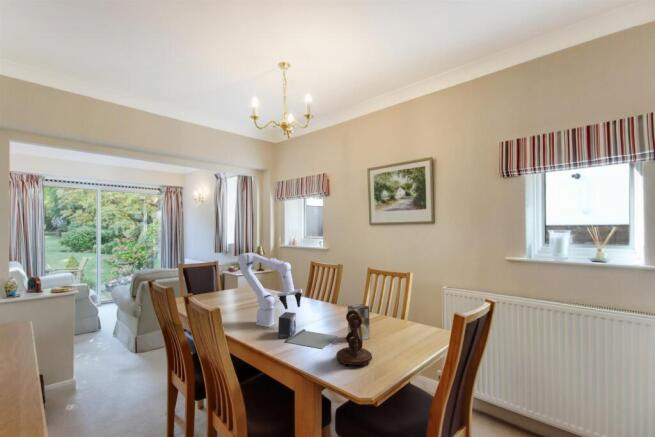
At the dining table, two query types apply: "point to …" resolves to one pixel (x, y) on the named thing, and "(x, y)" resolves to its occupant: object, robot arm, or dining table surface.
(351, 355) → the brown tall round-based figurine
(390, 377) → the dining table surface
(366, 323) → the coffee box
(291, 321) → the small box
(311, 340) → the mat
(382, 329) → the dining table surface
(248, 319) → the dining table surface
